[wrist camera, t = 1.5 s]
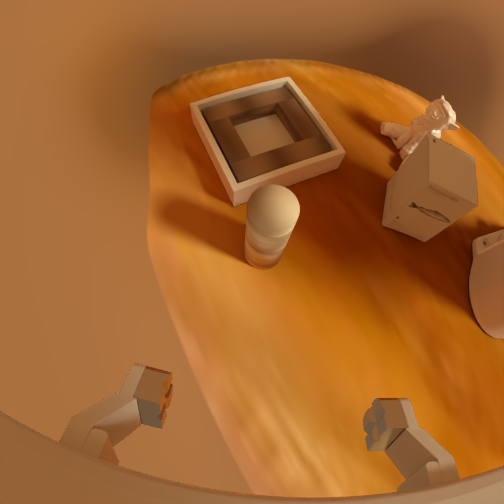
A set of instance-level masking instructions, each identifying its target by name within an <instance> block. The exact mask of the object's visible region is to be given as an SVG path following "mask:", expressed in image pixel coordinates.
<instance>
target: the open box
mask: <svg viewBox="0 0 504 504" xmlns="http://www.w3.org/2000/svg"><path fill="white" fill-rule="evenodd" d="M281 87H286V88H287V90H288V91H289V92H290V93H291V95H292V96H293V97H294V99H295V100H296V101H297V103H298V104H299V105H300V107H301V108H302V109H303V111H304V112H305V113H306V115H307V116H308V117H309V119H310V120H311V122H312V123H313V124H314V126H315V127H316V128H317V130H318V131H319V133H320V134H321V136H322V137H323V138H324V140H325V141H326V143H327V144H328V146H329V147H330V149H331V151H330V152H327V153H324V154H321V155H318V156H315V157H312V158H309V159H306V160H303V161H300V162H297V163H294V164H291V165H288V166H285V167H282V168H279V169H276V170H274V171H271V172H268V173H265V174H262V175H260V176H257V177H254V178H251V179H249V180H246V181H243V182H240V183H238V184H237V182H236V180H235V178H234V176H233V174H232V172H231V170H230V168H229V166H228V164H227V162H226V160H225V158H224V156H223V155H222V153H221V151H220V149H219V147H218V145H217V143H216V141H215V139H214V137H213V135H212V133H211V131H210V129H209V127H208V125H207V124H206V122H205V120H204V118H203V114H202V110H203V109H206V108H209V107H212V106H215V105H218V104H222V103H225V102H228V101H232V100H235V99H239V98H242V97H246V96H249V95H253V94H257V93H261V92H265V91H269V90H273V89H277V88H281ZM190 109H191V115H192V121H193V124H194V126H195V128H196V130H197V132H198V134H199V136H200V138H201V140H202V142H203V144H204V146H205V148H206V150H207V153H208V155H209V157H210V159H211V161H212V163H213V165H214V167H215V169H216V171H217V173H218V175H219V177H220V179H221V181H222V183H223V186H224V188H225V190H226V192H227V194H228V196H229V198H230V200H231V202H232V204H233V206H234V207H235V206H238V205H240V204H243V203H245V202H248V200H249V198H250V196H251V194H252V193H253V192H254V191H255V190H256V189H258V188H259V187H261V186H264V185H269V184H275V185H280V186H283V187H288V186H290V185H293V184H296V183H299V182H301V181H304V180H307V179H310V178H312V177H315V176H318V175H321V174H324V173H326V172H329V171H332V170H335V169H338V167H339V165H340V163H341V161H342V160H343V158H344V156H345V154H346V151H345V150H344V148H343V147H342V145H341V144H340V143H339V141H338V140H337V138H336V137H335V136H334V134H333V133H332V131H331V130H330V129H329V127H328V126H327V124H326V123H325V122H324V120H323V119H322V118H321V116H320V115H319V114H318V112H317V111H316V110H315V108H314V107H313V106H312V105H311V103H310V102H309V101H308V99H307V98H306V97H305V96H304V94H303V93H302V92H301V90H300V89H299V88H298V87H297V86H296V84H295V83H294V82H293V81H292V79H291V78H290V77H285V78H280V79H276V80H271V81H267V82H263V83H259V84H255V85H251V86H247V87H243V88H239V89H236V90H232V91H229V92H225V93H222V94H218V95H215V96H212V97H208V98H205V99H202V100H199V101H196V102H193V103H190ZM234 128H235V129H236V131H237V133H238V135H239V136H240V138H241V140H242V142H243V143H244V145H245V147H246V149H247V150H248V152H249V154H250V156H251V157H252V156H255V155H258V154H261V153H264V152H267V151H270V150H273V149H276V148H279V147H283V146H286V145H289V144H292V143H295V142H294V140H293V139H292V137H291V136H290V134H289V133H288V131H287V130H286V128H285V127H284V125H283V124H282V122H281V121H280V120H279V118H278V117H277V115H276V114H273V115H269V116H266V117H262V118H259V119H255V120H252V121H249V122H245V123H242V124H239V125H236V126H234Z"/></svg>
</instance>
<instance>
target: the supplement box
mask: <svg viewBox="0 0 504 504" xmlns="http://www.w3.org/2000/svg"><path fill="white" fill-rule="evenodd" d="M476 206H478V193H477V180H476V168H475V158H474V157H472V156H471V155H469V154H467V153H465V152H463V151H462V150H460V149H458V148H456V147H454V146H453V145H451V144H449V143H447V142H445V141H443V140H441V139H439V138H437V137H435V136H433V135H431V134H429V133H427V134H426V135H425V137H424V138H423V139H422V140H421V142H420V143H419V144H418V146H417V147H416V148H415V149H414V151H413V152H412V153H411V154H410V156H409V157H408V158H407V159H406V161H405V162H404V163H403V164H402V166H401V167H400V168H399V169H398V171H397V172H396V173H395V174H394V176H393V177H392V178H391V179H390V180H389V182H388V183H387V189H386V197H385V204H384V211H383V218H382V226H385V227H388V228H391V229H394V230H397V231H399V232H402V233H404V234H407V235H409V236H411V237H414V238H416V239H418V240H420V241H423V242H426V241H427V240H429V239H430V238H432V237H433V236H435V235H436V234H438V233H439V232H441V231H442V230H444V229H445V228H447V227H448V226H450V225H451V224H452V223H454V222H455V221H457V220H458V219H460V218H461V217H462V216H464V215H465V214H467V213H468V212H469V211H471V210H472V209H473V208H475V207H476Z"/></svg>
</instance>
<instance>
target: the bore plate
mask: <svg viewBox="0 0 504 504" xmlns="http://www.w3.org/2000/svg"><path fill="white" fill-rule="evenodd" d="M202 114H203V118H204V120H205V122H206V124H207V125H208V127H209V129H210V131H211V133H212V135H213V137H214V139H215V141H216V143H217V145H218V147H219V149H220V151H221V153H222V155H223V156H224V158H225V160H226V162H227V164H228V166H229V168H230V170H231V172H232V174H233V176H234V178H235V180H236V182H237V184H238V183H240V182H243V181H246V180H249V179H251V178H254V177H257V176H260V175H262V174H265V173H268V172H271V171H274V170H276V169H279V168H282V167H285V166H288V165H291V164H294V163H297V162H300V161H303V160H306V159H309V158H312V157H315V156H318V155H321V154H324V153H327V152H330V151H331V149H330V147H329V146H328V144H327V143H326V141H325V140H324V138H323V137H322V136H321V134H320V133H319V131H318V130H317V128H316V127H315V126H314V124H313V123H312V122H311V120H310V119H309V117H308V116H307V115H306V113H305V112H304V111H303V109H302V108H301V107H300V105H299V104H298V103H297V101H296V100H295V99H294V97H293V96H292V95H291V93H290V92H289V91H288V90H287V88H286V87H281V88H277V89H273V90H269V91H265V92H261V93H257V94H253V95H249V96H246V97H242V98H239V99H235V100H232V101H228V102H225V103H222V104H218V105H215V106H212V107H209V108H206V109H203V110H202ZM273 114H276V115H277V117H278V118H279V120H280V121H281V122H282V124H283V125H284V127H285V128H286V130H287V131H288V133H289V134H290V136H291V137H292V139H293V140H294V142H295V143H292V144H289V145H286V146H283V147H279V148H276V149H273V150H270V151H267V152H264V153H261V154H258V155H255V156H252V157H251V156H250V154H249V152H248V150H247V149H246V147H245V145H244V143H243V142H242V140H241V138H240V136H239V135H238V133H237V131H236V129H235V128H234V126H236V125H239V124H242V123H245V122H249V121H252V120H255V119H259V118H262V117H266V116H269V115H273Z"/></svg>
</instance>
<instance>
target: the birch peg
mask: <svg viewBox="0 0 504 504" xmlns="http://www.w3.org/2000/svg"><path fill="white" fill-rule="evenodd" d="M299 213H300V206H299V202H298V200H297V198H296V196H295V195H294V194H293V193H292V192H291V191H290V190H289V189H287V188H285V187H283V186H280V185H275V184H269V185H264V186H261V187H259V188H258V189H256V190H255V191H254V192H253V193H252V194H251V196H250V198H249V200H248V205H247V218H246V232H245V245H244V255H245V258H246V260H247V262H248V263H249V264H250V265H251V266H253V267H254V268H257V269H262V270H264V269H269V268H272V267H273V266H275V265H276V264H277V263H278V261H279V260H280V257H281V255H282V253H283V251H284V248H285V246H286V244H287V242H288V239H289V237H290V235H291V233H292V230H293V228H294V226H295V224H296V221H297V219H298V217H299Z"/></svg>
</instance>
